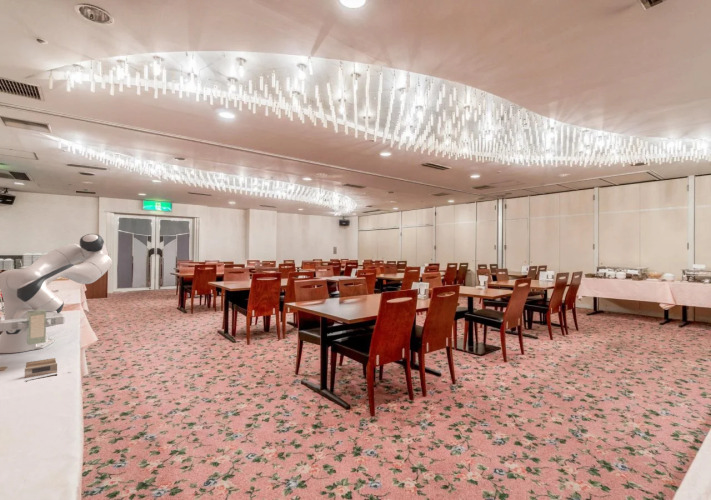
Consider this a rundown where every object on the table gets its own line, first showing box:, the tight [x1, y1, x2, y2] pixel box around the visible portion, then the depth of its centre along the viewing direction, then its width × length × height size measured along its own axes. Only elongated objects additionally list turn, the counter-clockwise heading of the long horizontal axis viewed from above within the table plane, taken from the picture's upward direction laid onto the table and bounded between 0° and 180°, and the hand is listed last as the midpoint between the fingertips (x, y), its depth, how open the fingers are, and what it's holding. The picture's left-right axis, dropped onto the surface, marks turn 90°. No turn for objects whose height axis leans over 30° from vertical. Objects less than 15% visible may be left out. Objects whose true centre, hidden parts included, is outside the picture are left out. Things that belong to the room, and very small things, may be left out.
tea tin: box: [27, 309, 47, 345], centre depth 140 cm, size 5×5×13 cm
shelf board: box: [24, 357, 58, 382], centre depth 136 cm, size 24×9×4 cm, turn 43°
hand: (36, 324), depth 140 cm, fingers closed on tea tin, 5 cm apart
